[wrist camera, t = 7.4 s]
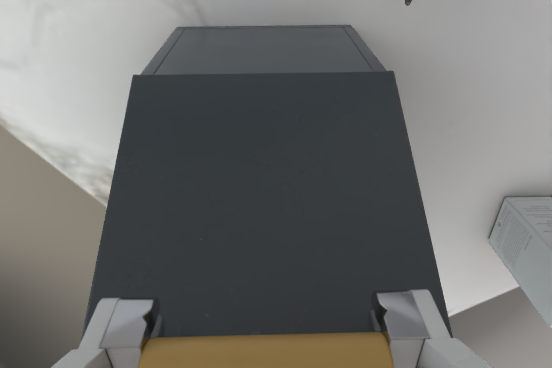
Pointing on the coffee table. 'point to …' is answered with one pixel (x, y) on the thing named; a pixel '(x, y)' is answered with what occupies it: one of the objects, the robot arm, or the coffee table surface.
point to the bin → (263, 50)
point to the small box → (527, 247)
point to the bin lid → (265, 218)
